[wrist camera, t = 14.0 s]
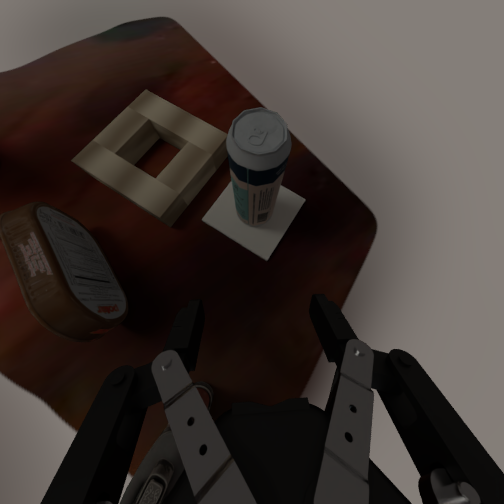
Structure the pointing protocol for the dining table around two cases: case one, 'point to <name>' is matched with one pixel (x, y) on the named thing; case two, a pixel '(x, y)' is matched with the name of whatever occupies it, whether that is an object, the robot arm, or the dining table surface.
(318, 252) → the dining table surface
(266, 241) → the pad
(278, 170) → the beer can
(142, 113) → the socket block
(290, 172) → the dining table surface
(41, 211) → the tin
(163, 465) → the lighter
